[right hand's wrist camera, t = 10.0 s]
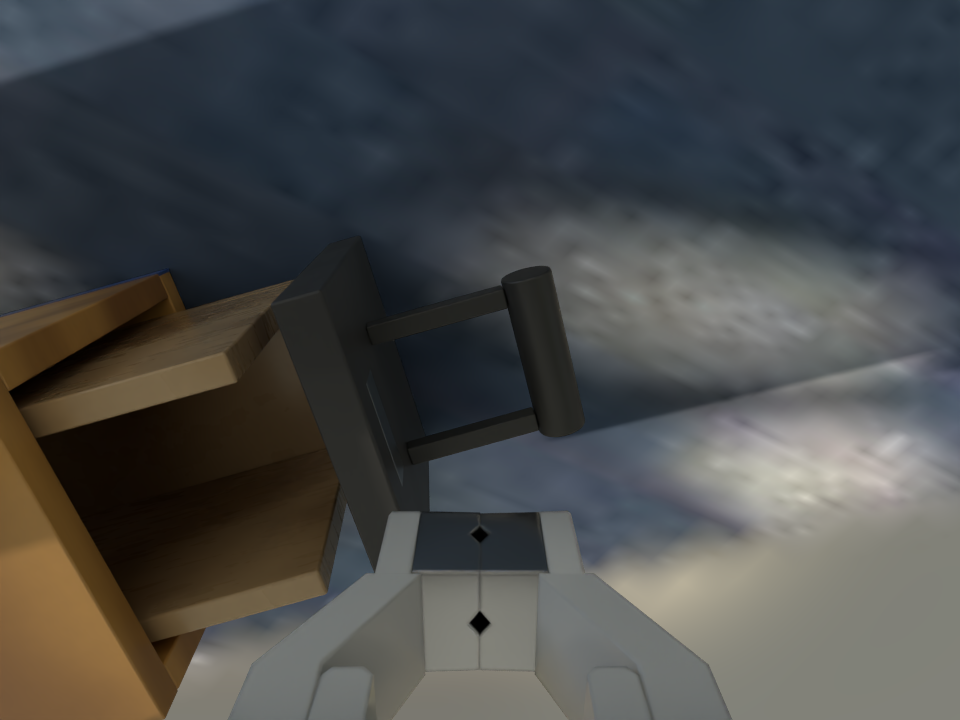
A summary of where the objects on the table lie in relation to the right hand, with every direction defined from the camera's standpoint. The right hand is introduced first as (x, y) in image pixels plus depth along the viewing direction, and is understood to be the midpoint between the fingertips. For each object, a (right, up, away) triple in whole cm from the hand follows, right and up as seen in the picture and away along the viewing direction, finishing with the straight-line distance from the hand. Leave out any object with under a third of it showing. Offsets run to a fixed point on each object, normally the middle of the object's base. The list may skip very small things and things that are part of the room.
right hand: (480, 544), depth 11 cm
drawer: (-8, +2, +13) cm, 16 cm away
